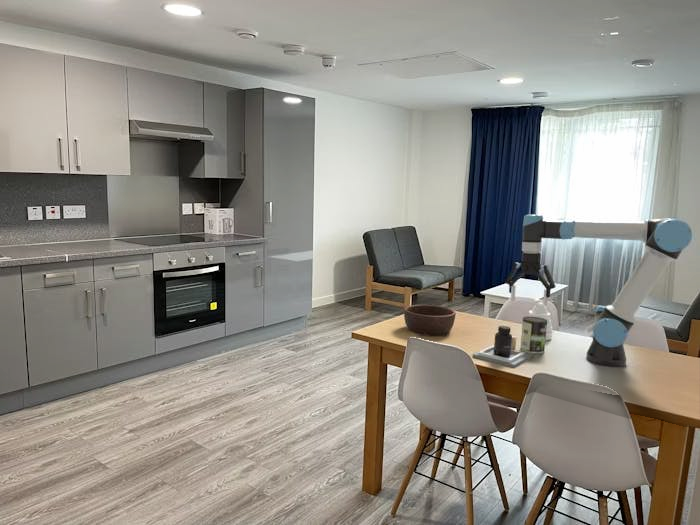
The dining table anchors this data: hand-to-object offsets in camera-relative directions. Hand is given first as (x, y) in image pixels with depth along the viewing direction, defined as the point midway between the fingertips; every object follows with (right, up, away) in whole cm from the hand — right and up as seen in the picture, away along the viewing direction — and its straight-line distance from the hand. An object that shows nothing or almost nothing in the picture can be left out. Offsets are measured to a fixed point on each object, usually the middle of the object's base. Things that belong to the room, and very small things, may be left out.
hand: (528, 302), depth 221 cm
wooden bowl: (-36, -17, +38) cm, 55 cm away
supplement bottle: (-11, -22, -1) cm, 25 cm away
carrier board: (-10, -23, +1) cm, 25 cm away
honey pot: (+16, -19, +36) cm, 44 cm away
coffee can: (+6, -22, +12) cm, 26 cm away
